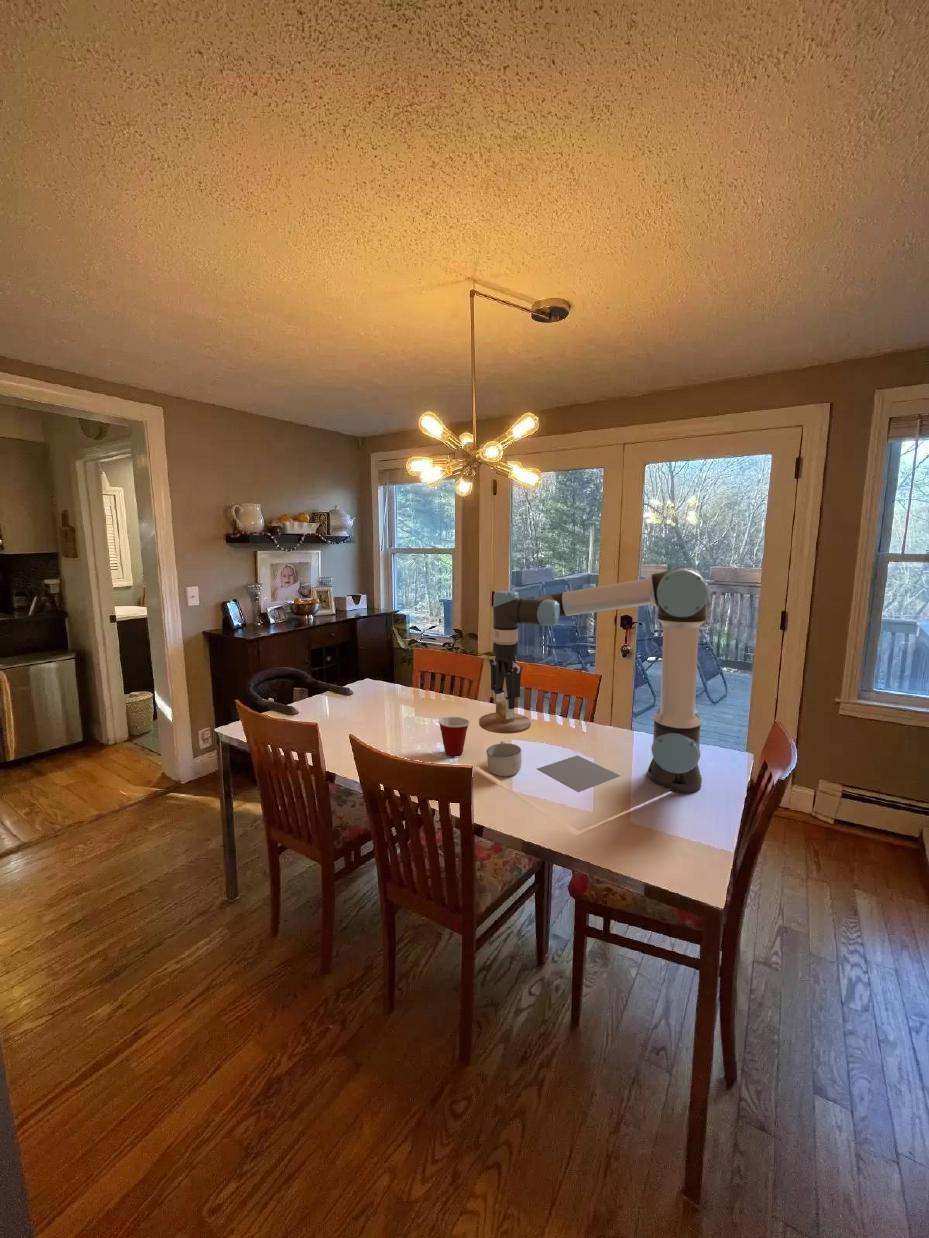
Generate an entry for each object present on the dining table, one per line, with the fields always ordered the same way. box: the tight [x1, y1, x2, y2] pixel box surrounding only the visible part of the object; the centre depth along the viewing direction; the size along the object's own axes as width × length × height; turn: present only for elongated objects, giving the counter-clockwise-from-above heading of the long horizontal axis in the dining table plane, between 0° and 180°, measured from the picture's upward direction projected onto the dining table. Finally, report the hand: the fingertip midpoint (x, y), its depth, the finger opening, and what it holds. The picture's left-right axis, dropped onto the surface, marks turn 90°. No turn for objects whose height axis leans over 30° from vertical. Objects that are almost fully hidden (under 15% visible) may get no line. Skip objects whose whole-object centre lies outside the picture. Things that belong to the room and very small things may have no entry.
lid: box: [478, 699, 532, 735], centre depth 160 cm, size 16×16×7 cm
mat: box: [536, 755, 621, 793], centre depth 159 cm, size 18×18×1 cm
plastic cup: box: [437, 716, 471, 758], centre depth 175 cm, size 11×11×12 cm
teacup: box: [486, 740, 523, 777], centre depth 162 cm, size 14×11×8 cm
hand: (504, 715), depth 160 cm, fingers closed on lid, 4 cm apart
